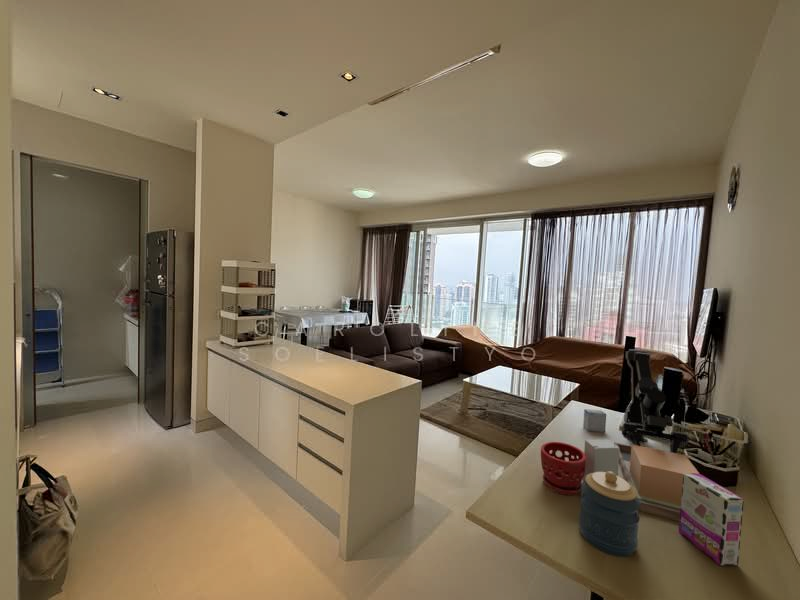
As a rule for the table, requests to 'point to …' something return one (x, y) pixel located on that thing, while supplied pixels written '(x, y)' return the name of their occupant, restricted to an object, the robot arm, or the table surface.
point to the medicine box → (594, 420)
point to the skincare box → (601, 457)
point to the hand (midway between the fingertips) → (656, 458)
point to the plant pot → (563, 467)
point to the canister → (609, 514)
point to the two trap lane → (646, 503)
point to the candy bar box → (711, 518)
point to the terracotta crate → (659, 473)
